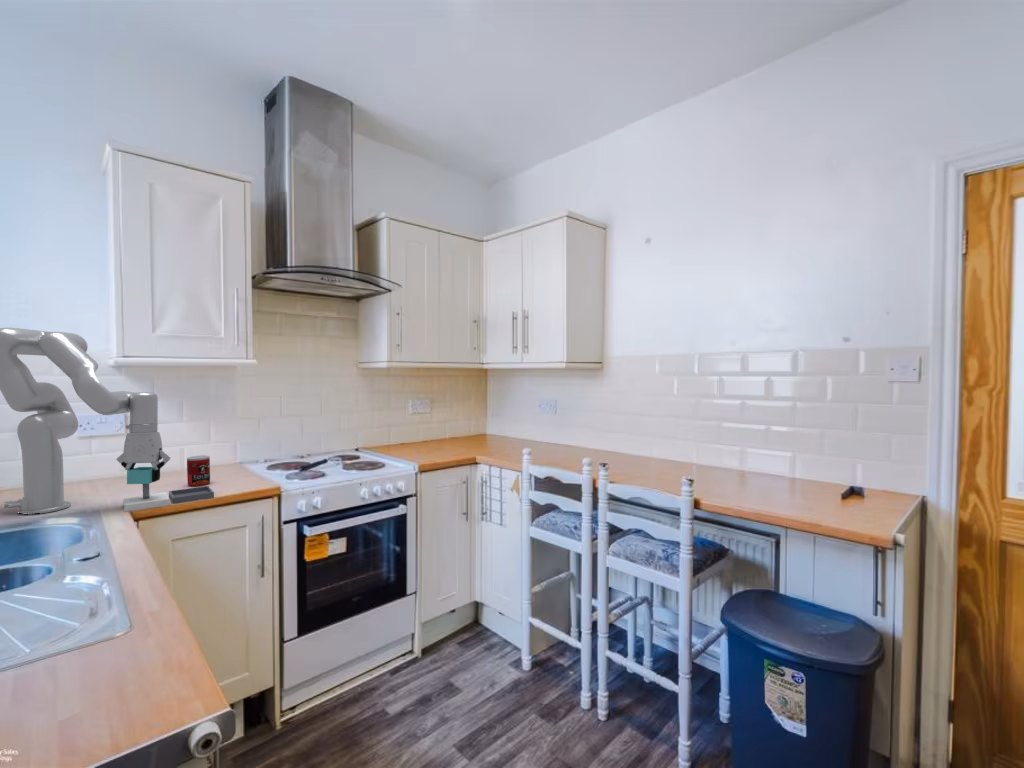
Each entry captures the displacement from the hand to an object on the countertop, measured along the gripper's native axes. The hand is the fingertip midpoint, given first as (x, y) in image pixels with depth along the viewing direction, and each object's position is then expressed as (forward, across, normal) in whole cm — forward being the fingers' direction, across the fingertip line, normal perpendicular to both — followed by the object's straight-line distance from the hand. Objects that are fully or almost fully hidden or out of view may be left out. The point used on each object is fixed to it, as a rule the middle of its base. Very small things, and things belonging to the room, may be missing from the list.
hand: (143, 480), depth 165 cm
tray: (+8, +12, +7) cm, 16 cm away
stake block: (+8, +1, 0) cm, 8 cm away
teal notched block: (0, 0, 0) cm, 0 cm away
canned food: (+8, +5, +28) cm, 30 cm away
